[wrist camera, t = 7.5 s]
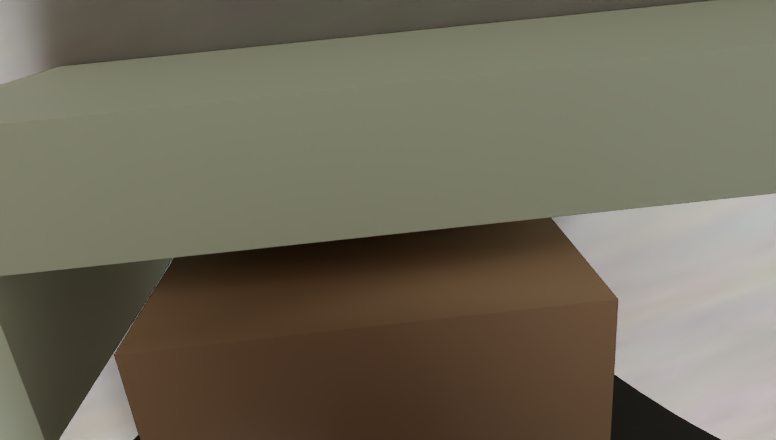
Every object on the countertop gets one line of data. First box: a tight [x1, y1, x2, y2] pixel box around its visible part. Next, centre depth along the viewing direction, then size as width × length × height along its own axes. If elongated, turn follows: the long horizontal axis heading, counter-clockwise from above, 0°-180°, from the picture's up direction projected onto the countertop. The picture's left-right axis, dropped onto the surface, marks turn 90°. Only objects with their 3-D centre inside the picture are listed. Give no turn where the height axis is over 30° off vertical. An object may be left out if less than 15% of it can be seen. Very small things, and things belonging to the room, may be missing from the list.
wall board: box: [0, 0, 776, 440], centre depth 10 cm, size 20×11×5 cm, turn 95°
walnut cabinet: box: [114, 217, 618, 440], centre depth 9 cm, size 4×6×7 cm
